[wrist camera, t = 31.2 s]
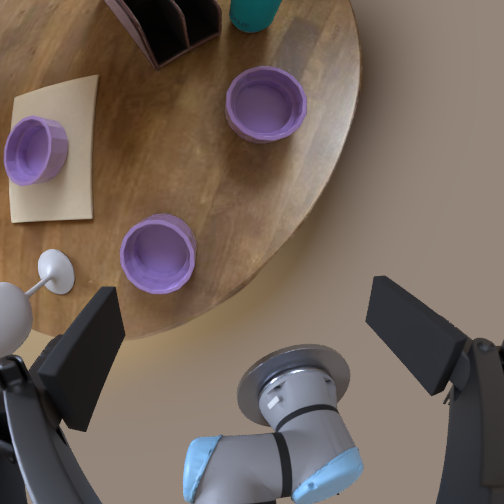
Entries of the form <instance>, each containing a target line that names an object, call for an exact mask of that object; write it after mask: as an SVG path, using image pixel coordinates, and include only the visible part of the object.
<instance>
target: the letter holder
mask: <svg viewBox="0 0 504 504" xmlns="http://www.w3.org/2000/svg"><path fill="white" fill-rule="evenodd" d="M104 1H105V2H106V3H107V5H108V6H109V7H110V9H111V10H112V11H113V13H114V14H115V15H116V17H117V18H118V19H119V21H120V22H121V23H122V25H123V26H124V27H125V29H126V30H127V31H128V33H129V34H130V35H131V37H132V38H133V39H134V41H135V42H136V43H137V45H138V46H139V47H140V49H141V50H142V52H143V53H144V54H145V56H146V57H147V58H148V60H149V61H150V63H151V65H152V66H153V67H154V69H155V70H159V69H160V68H162V67H164V66H165V65H167V64H168V63H170V62H172V61H173V60H175V59H177V58H178V57H180V56H182V55H183V54H185V53H187V52H189V51H190V50H192V49H194V48H196V47H198V46H200V45H201V44H203V43H205V42H207V41H209V40H211V39H213V38H215V37H217V36H219V35H221V30H222V24H221V21H222V18H221V17H222V12H221V8H220V6H219V5H218V3H217V2H216V0H104Z"/></svg>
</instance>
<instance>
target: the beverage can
mask: <svg viewBox="0 0 504 504" xmlns="http://www.w3.org/2000/svg"><path fill="white" fill-rule="evenodd" d="M281 1H282V0H231V5H230V13H229V16H230V19H231V21H232V23H233V24H234V25H235V26H236V27H237V28H238V29H239V30H241V31H243V32H247V33H255V32H259V31H261V30H263V29H265V28H267V27H268V26H269V25H270V24H271V23H272V21H273V19H274V16H275V14H276V12H277V10H278V8H279V6H280V3H281Z"/></svg>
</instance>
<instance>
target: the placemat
mask: <svg viewBox="0 0 504 504" xmlns="http://www.w3.org/2000/svg"><path fill="white" fill-rule="evenodd" d="M98 82H99V75H92V76H87V77H83V78H78V79H74V80H70V81H66V82H62V83H58V84H54V85H51V86H47V87H44V88H41V89H38V90H34V91H31V92H28V93H26V94H23V95H20V96H17V97H15V99H14V106H13V113H12V122H11V131H12V129H13V128H14V126H15V125H16V124H17V123H18V122H19V121H21V120H22V119H23V118H25V117H29V116H32V115H34V116H39V117H44V118H48V119H52V120H55V121H58V122H59V123H60V124H61V125H62V127H63V128H64V129H65V132H66V135H67V139H68V148H67V156H66V159H65V162H64V165H63V167H62V168H61V169H60V171H59V172H58V174H57V175H56V176H55V177H54V178H52V179H51V180H50V181H48V182H45V183H39V184H33V185H27V186H19V185H17V184H15V183H13V182H12V181H11V179H10V178H9V194H10V210H11V221H12V223H16V222H32V221H50V220H72V219H92V218H94V217H93V196H92V151H93V130H94V117H95V107H96V97H97V89H98Z"/></svg>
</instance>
